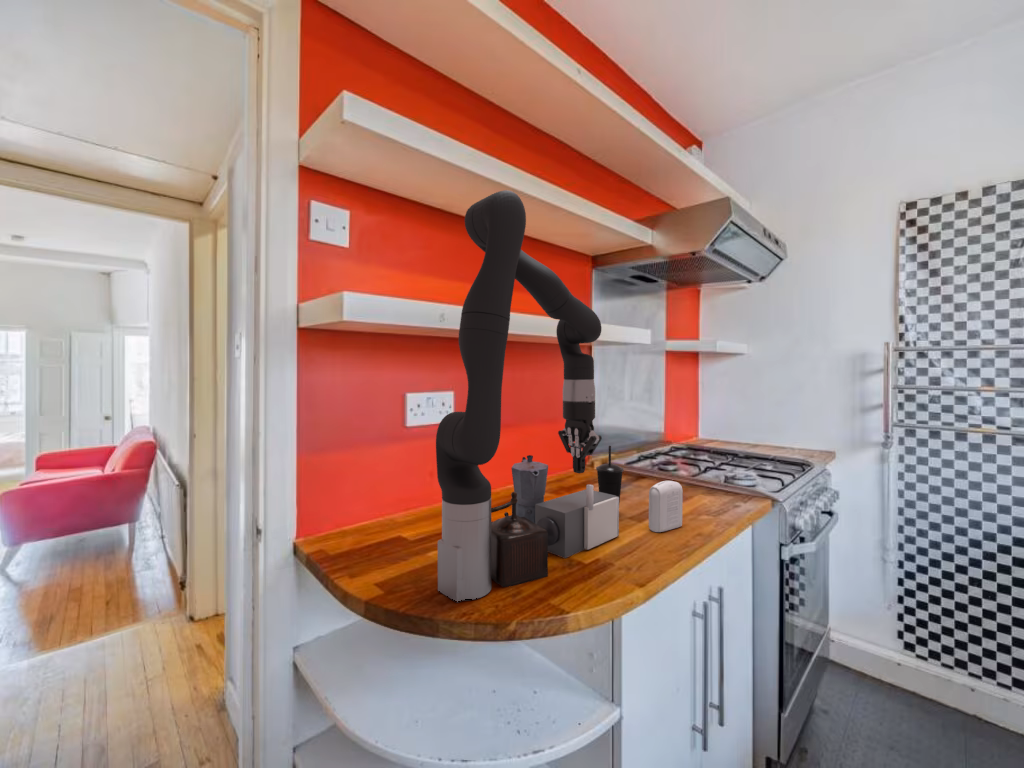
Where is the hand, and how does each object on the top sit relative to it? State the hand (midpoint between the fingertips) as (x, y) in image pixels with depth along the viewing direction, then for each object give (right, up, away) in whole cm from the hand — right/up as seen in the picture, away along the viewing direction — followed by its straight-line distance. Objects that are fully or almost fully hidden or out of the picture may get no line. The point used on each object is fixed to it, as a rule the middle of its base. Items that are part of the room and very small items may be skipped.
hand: (579, 472), depth 104 cm
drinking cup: (+12, -17, +22) cm, 31 cm away
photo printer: (+25, -17, +12) cm, 32 cm away
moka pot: (-12, -17, +10) cm, 23 cm away
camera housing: (0, -17, +3) cm, 17 cm away
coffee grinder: (-18, -18, -14) cm, 29 cm away
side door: (+6, -17, +1) cm, 18 cm away
